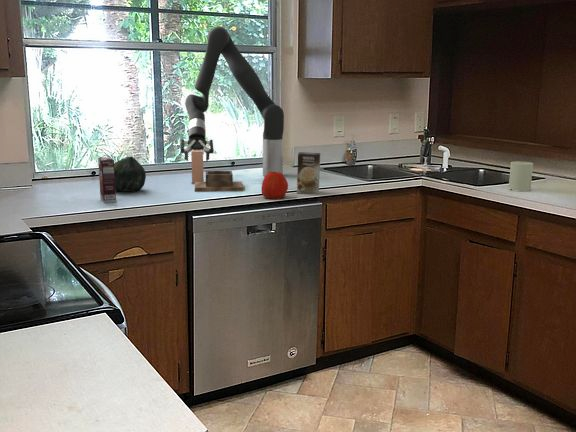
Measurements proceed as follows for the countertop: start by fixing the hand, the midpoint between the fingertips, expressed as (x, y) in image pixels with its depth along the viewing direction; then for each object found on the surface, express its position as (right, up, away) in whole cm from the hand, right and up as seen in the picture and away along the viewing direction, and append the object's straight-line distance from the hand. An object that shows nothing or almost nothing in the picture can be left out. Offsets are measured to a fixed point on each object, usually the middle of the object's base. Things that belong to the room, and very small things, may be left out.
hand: (197, 159), depth 278 cm
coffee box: (+48, -15, -16) cm, 53 cm away
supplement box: (-28, -19, -38) cm, 51 cm away
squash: (-26, -14, -18) cm, 34 cm away
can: (+139, -13, -4) cm, 140 cm away
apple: (+34, -17, -28) cm, 47 cm away
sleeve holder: (+11, -13, -9) cm, 19 cm away
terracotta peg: (0, -10, +3) cm, 10 cm away
